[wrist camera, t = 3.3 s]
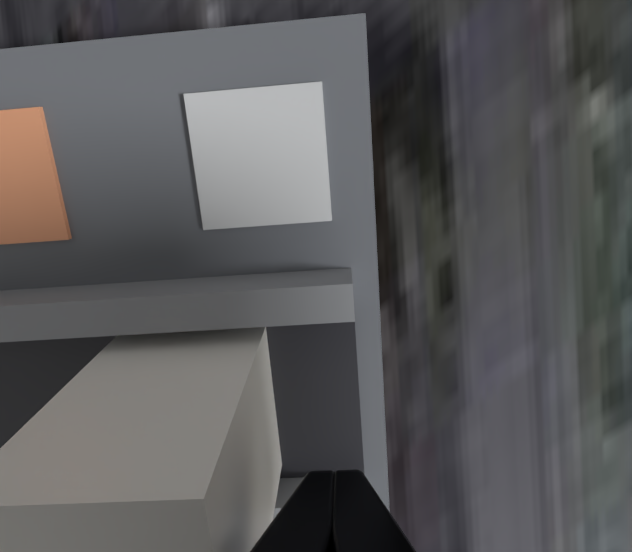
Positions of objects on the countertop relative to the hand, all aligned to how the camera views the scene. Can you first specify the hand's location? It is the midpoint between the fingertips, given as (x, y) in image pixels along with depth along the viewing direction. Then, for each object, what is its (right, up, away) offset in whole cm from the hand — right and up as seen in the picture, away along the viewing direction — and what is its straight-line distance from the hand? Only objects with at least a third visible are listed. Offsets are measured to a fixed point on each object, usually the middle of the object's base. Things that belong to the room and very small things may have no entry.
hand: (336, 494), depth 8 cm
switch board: (-3, +1, +5) cm, 7 cm away
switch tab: (-3, +1, +3) cm, 4 cm away
